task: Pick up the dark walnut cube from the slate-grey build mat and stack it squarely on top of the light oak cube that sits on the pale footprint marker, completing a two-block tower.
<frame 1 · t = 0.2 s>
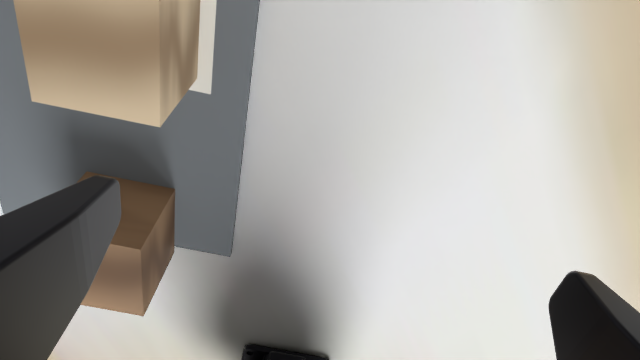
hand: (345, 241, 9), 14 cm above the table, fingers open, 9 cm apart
walnut block: (132, 213, 28), resting on build mat
build mat: (111, 101, 24), on the table
oak block: (144, 15, 21), resting on build mat
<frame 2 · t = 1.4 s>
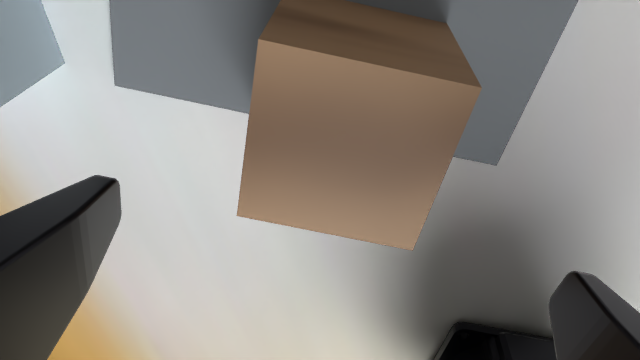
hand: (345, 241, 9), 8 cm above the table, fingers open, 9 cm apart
walnut block: (349, 80, 16), resting on build mat
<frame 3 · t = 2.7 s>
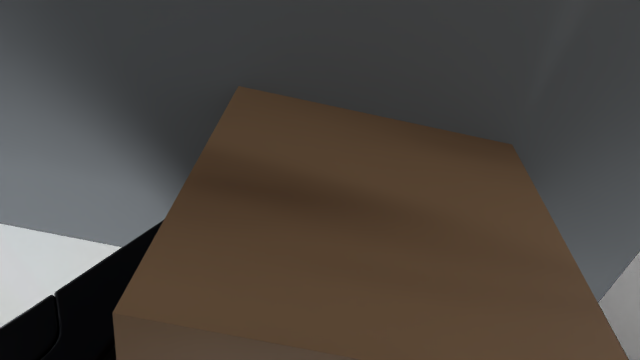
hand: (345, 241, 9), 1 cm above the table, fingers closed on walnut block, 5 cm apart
walnut block: (345, 221, 10), resting on build mat, touching gripper
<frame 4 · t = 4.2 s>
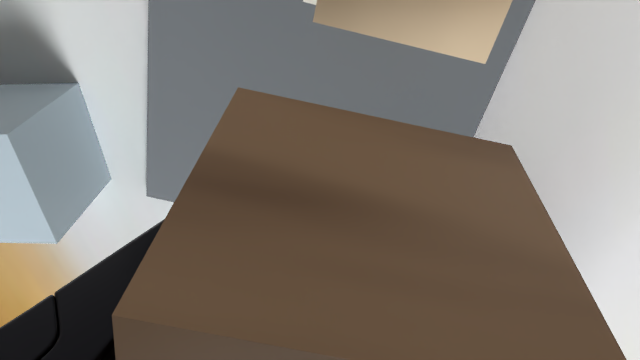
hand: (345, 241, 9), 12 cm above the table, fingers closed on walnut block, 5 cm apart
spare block: (46, 133, 22), on the table
walnut block: (345, 222, 10), point 11 cm above the table, touching gripper
build mat: (324, 51, 19), on the table
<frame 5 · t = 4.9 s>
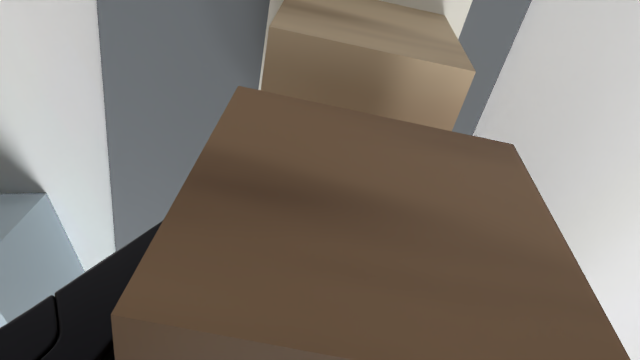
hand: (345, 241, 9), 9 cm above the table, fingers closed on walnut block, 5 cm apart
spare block: (20, 233, 23), on the table
walnut block: (345, 222, 10), point 9 cm above the table, touching gripper
build mat: (278, 168, 20), on the table
oak block: (352, 70, 16), resting on build mat
when the fingers open (7 cm above the table, at t = 5.7 s): walnut block stays where it is, resting on oak block.
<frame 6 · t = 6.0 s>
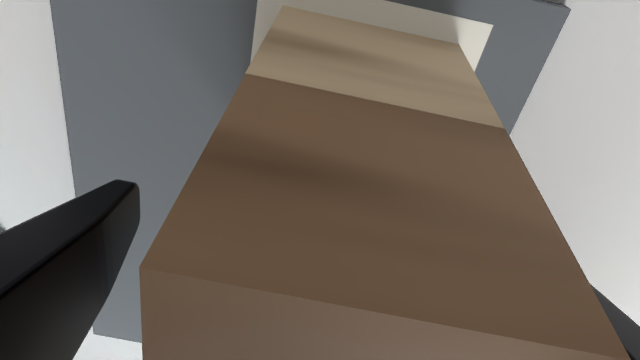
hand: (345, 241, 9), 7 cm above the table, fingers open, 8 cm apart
walnut block: (347, 205, 10), point 5 cm above the table, touching oak block
build mat: (267, 210, 17), on the table
oak block: (351, 106, 14), resting on build mat, touching walnut block
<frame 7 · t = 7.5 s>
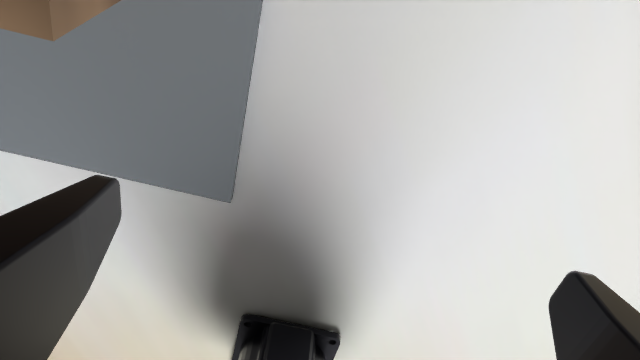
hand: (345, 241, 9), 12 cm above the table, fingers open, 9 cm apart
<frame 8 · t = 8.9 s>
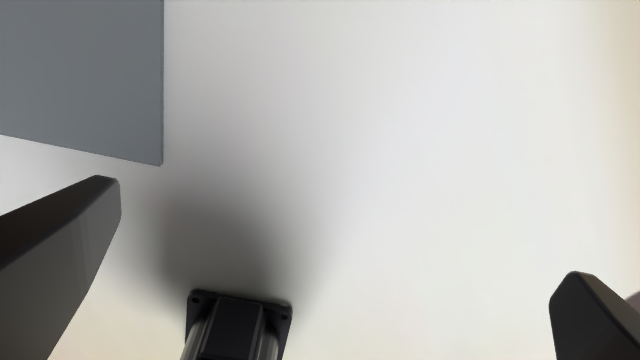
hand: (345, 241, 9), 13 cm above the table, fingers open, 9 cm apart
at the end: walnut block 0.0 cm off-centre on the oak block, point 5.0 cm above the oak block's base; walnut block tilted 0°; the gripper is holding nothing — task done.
